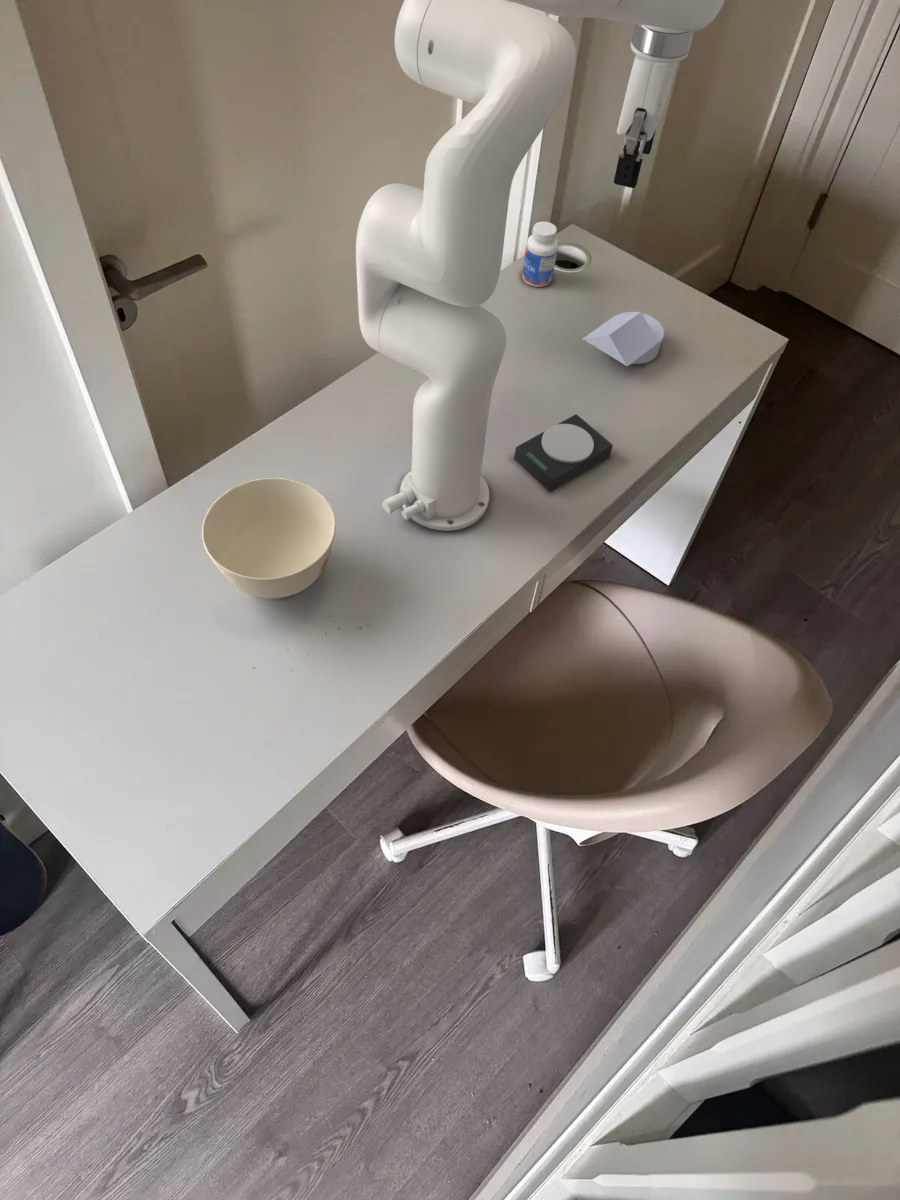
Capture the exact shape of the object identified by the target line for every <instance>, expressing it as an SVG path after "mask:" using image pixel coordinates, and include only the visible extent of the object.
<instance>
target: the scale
mask: <svg viewBox="0 0 900 1200" xmlns="http://www.w3.org/2000/svg"><path fill="white" fill-rule="evenodd" d="M613 447H614V444H613V443H611V442H610V441H609V440H607V438H605V437H604V436H603V435H602V434H601V433H600V432H598V431H597V430H596V429H595V428H594V427H592V426H591V425H590V424H589V423H587V421H585V420H584V419H583V418H581V417H580V416H579V415H578V414H577V413H575V414H574V415H572V416H570V417H568V418H566V419H564V420H562V421H561V422H559V423H557V424H554V425H551V426H550V427H548V428H547V429H546V430H544V431H543V432H541V433H539V434H537V435H535V436H533V437H531V438H530V439H528V440H526V441H524V442H522V443H521V444H519V445H517V446H516V447H515V450H514V458H513V460H515V461H516V462H517V463H518V464H519V465H520V466H521V467H522V468H523V469H525V471H526V472H528V473H529V474H530V475H531V476H532V477H533V478H534V479H535V480H536V481H538V482H539V483H540V484H541V485H542V486H543V487H544V488H545V489H546V490H547V491H548V492H550V493H552V492H553V491H554V490H556V489H558V488H560V487H562V486H563V485H564V484H567V483H568V482H570V481H571V480H573V479H575V478H577V477H579V476H580V475H582V474H583V473H586V472H587V471H589V470H590V469H592V468H593V467H595V466H597V465H599V464H600V463H602V462H604V461H605V460H607V459H609V458H610V457H611V454H612V450H613Z"/></svg>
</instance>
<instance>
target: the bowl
mask: <svg viewBox="0 0 900 1200" xmlns="http://www.w3.org/2000/svg"><path fill="white" fill-rule="evenodd" d="M336 530H337V521H336V515H335V512H334V510H333V508H332V505H331V503H330V502H329V501H328V500H327V498H326V497H325V495H323V494H322V493H321V492H319V491H318V490H317V489H316V488H314V487H312V486H310V485H309V484H307V483H304V482H301V481H299V480H294V479H291V478H284V477H264V478H256V479H251V480H249V481H245V482H243V483H240V484H238V485H236V486H234V487H231V488H230V489H228V490H227V491H225V492H224V493H223V494H221V495H220V496H219V497H217V499H216V500H215V501H214V502H213V503H212V504H211V506H210V507H209V509H208V510H207V512H206V514H205V516H204V519H203V522H202V527H201V539H202V543H203V547H204V550H205V551H206V554H207V555H208V556H209V558H210V560H211V561H212V562H213V564H214V565H215V566H216V568H217V570H218V571H220V573H221V574H222V575H223V577H224V578H225V579H226V580H227V581H228V582H229V583H230V584H232V586H234V588H237V590H239V591H242V592H243V593H245V594H247V595H250V596H253V597H257V598H260V599H261V598H262V599H282V598H286V597H287V598H288V597H290V596H293V595H295V594H298V593H300V592H302V591H304V590H305V589H308V587H309V586H311V585H312V584H313V583H314V582H315V581H316V580H318V578H319V577H320V575H322V573H323V571H324V570H325V567H326V565H327V563H328V561H329V558H330V555H331V552H332V548H333V544H334V540H335V536H336Z"/></svg>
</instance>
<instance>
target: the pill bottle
mask: <svg viewBox="0 0 900 1200" xmlns="http://www.w3.org/2000/svg"><path fill="white" fill-rule="evenodd" d="M557 232H558V228H557V226H556V225H555V224H554V223H551V222H549V221H538V222H536V223H535V224H533V227H532V231H531V233H532V234H531V235H530V236H529V237H528V238H527V240H526V244H525V245H526V246H525V252H524V259H523V266H522V273H521V274H522V275H521V277H522V279H523V282H525V283H526V284H527V285H529V286H532V287H536V288H540V287H546V286H548V285H549V284H551V282H552V281H553V276H554V272H555V266H556V261H557V256H558V255H557V254H558V249H559V241H558V239H557Z"/></svg>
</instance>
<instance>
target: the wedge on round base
mask: <svg viewBox="0 0 900 1200" xmlns="http://www.w3.org/2000/svg"><path fill="white" fill-rule="evenodd" d="M664 334H665V331H664V328H663V326H662V324H661V323H660V322H659V321H658V320H657V319H655V318H654V317H653V316H650V315H649V314H646V313H643V312H642V311H623V312H621V313H618V314H616V315H614V316H612V317H611V318H609V319H608V320H607V321H606V322H605V321H604V323H603V324H601V325H600V326H598V327H597V328H596V329H594V330H593V331H592V332H591V331H590V333H588V334H587V335H586V336H584V337H583V338H582V340H583V341H585V342H587V343H589V344H590V345H592V346H593V347H595V348H596V349H598V350H600V351H601V352H603V353H604V354H606V355H608V356H609V357H611V358H613V359H614V360H615V361H618V362H619V363H621V364H622V365H624V366H626V367H628V366H630V365H631V364H632V365H640V364H641V365H642V364H646V363H649V362H652V361H653V360H654V359H655V358H656V357H657V356H658V353H659V351H660V348H661V344H662V341H663V339H664V336H665V335H664Z"/></svg>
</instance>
